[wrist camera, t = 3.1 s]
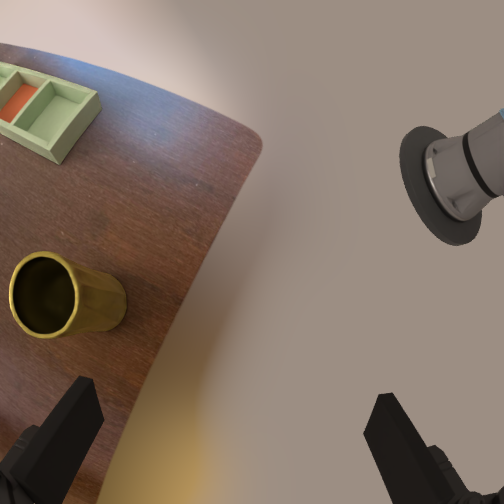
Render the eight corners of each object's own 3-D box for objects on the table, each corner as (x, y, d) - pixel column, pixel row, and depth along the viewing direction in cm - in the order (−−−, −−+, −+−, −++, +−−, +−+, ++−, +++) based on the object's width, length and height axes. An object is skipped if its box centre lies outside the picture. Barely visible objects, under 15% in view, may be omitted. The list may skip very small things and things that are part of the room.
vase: (136, 317, 28) (102, 325, 14) (87, 340, 26) (23, 360, 13) (113, 263, 28) (66, 226, 15) (65, 286, 27) (-7, 266, 13)
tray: (102, 109, 31) (97, 91, 27) (59, 165, 28) (49, 150, 25) (1, 73, 27) (-6, 60, 24) (-34, 115, 25) (-43, 103, 21)
